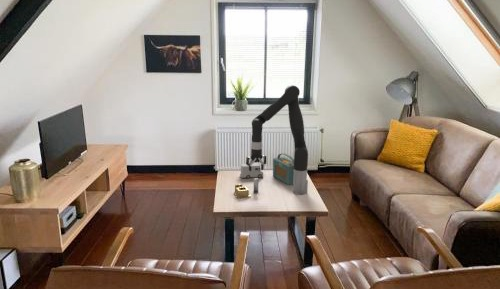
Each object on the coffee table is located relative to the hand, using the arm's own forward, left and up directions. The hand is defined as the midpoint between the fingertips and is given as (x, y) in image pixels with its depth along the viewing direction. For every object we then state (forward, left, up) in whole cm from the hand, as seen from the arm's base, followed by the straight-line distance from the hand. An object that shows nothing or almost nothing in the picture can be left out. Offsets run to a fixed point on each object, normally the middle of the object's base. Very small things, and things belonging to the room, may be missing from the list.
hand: (256, 170), depth 255 cm
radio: (-32, -19, -16) cm, 40 cm away
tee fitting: (+11, +1, -16) cm, 20 cm away
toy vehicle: (-9, -34, -17) cm, 39 cm away
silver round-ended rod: (0, 0, -16) cm, 16 cm away
